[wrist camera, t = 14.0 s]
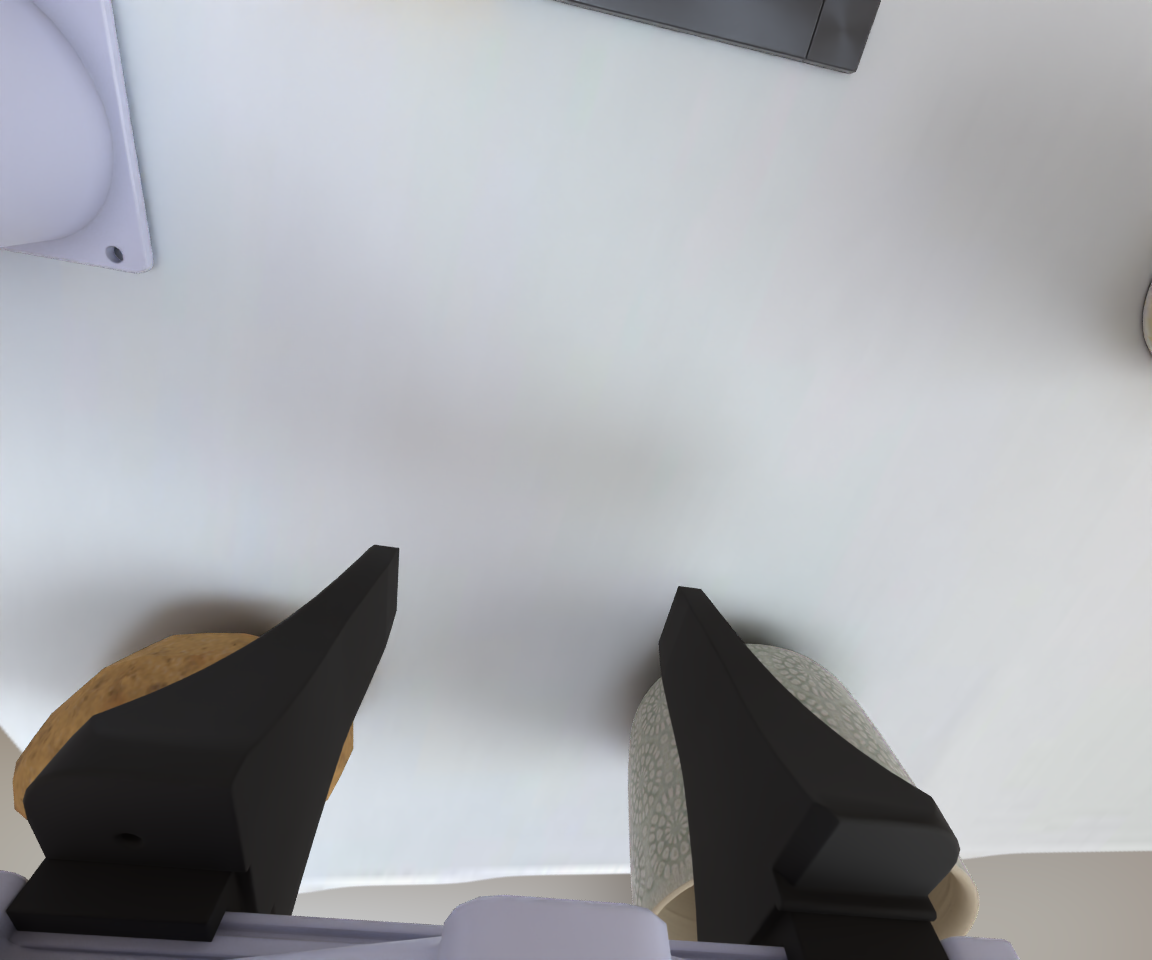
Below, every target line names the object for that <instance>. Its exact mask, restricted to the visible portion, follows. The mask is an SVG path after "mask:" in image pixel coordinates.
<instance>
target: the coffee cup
mask: <svg viewBox="0 0 1152 960" xmlns="http://www.w3.org/2000/svg"><path fill="white" fill-rule="evenodd" d="M1143 332H1144V338H1145V341H1146V343H1147V346H1148V348H1149V350H1150V352H1151V353H1152V283H1151V286H1150V288H1149V291H1148V293H1147V298H1146V301H1145V306H1144V310H1143Z"/></svg>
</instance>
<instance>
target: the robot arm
mask: <svg viewBox="0 0 1152 960" xmlns="http://www.w3.org/2000/svg"><path fill="white" fill-rule="evenodd" d="M114 247H116V248H118V249H119V250H120V251H121V253H122V255H123V261H122V260H120V259H119V258H118V257H117V256H116V255H115V253H114ZM0 249H3V250H8V251H14V252H19V253H25V254H31V255H36V256H42V257H47V258H53V259H58V260H64V261H70V262H75V263H81V264H86V265H92V266H97V267H103V268H109V269H114V270H120V271H125V272H131V273H143V272H146V271H148V270H150V269H151V268H152V266H153V261H154V258H153V252H152V246H151V240H150V234H149V228H148V222H147V216H146V210H145V204H144V198H143V192H142V185H141V179H140V173H139V167H138V161H137V155H136V149H135V143H134V137H133V131H132V125H131V118H130V112H129V106H128V100H127V94H126V88H125V82H124V76H123V70H122V64H121V58H120V52H119V45H118V39H117V33H116V27H115V21H114V15H113V9H112V3H111V0H0ZM398 567H399V548H394V547H387V546H380V545H373V546H372V547H370V548H369V549H368V550H367V551H366V552H365V553H364V554H363V555H362V556H361V557H360V558H359V559H358V560H357V561H355V562H354V563H353V564H352V565H351V566H350V567H349V568H348V569H347V570H346V571H345V572H344V573H342V574H341V575H340V576H339V577H338V578H337V579H336V580H334V581H333V582H332V583H331V584H330V585H329V586H327V587H326V588H325V589H324V590H323V591H322V592H320V593H319V594H318V595H317V596H316V597H314V598H313V599H312V600H311V601H309V602H308V603H307V604H305V605H304V606H303V607H301V608H300V609H299V610H297V611H296V612H295V613H294V614H292V615H291V616H290V617H288V618H287V619H285V620H284V621H283V622H281V623H280V624H278V625H277V626H275V627H274V628H273V629H271V630H270V631H268V632H267V633H265V634H263V635H262V636H260V637H259V638H257V639H256V640H254V641H252V642H251V643H249V644H248V645H246V646H244V647H242V648H241V649H239V650H237V651H235V652H234V653H232V654H230V655H228V656H226V657H225V658H223V659H221V660H219V661H217V662H215V663H214V664H212V665H210V666H208V667H206V668H204V669H202V670H200V671H198V672H196V673H194V674H192V675H190V676H188V677H186V678H183V679H181V680H179V681H177V682H175V683H172V684H170V685H168V686H166V687H164V688H161V689H159V690H157V691H154V692H152V693H150V694H147V695H145V696H142V697H140V698H137V699H134V700H132V701H129V702H127V703H124V704H122V705H119V706H116V707H114V708H111V709H109V710H106V711H104V712H101V713H98V714H95V715H93V716H92V717H91V718H90V719H89V720H88V721H87V722H86V723H85V724H84V725H83V726H82V727H81V728H80V729H79V730H78V731H77V732H76V733H75V734H74V735H73V736H72V737H71V738H70V739H69V740H68V741H67V742H66V743H65V745H64V746H63V747H62V748H61V749H60V750H59V751H58V753H57V754H56V755H55V756H54V757H53V758H52V760H51V761H50V762H49V763H48V764H47V765H46V767H45V768H44V769H43V770H42V771H41V772H40V774H39V775H38V776H37V777H36V778H35V779H34V780H33V782H32V783H31V784H30V785H29V786H28V787H27V789H26V791H25V794H24V798H23V805H24V809H25V813H26V817H27V820H28V822H29V824H30V826H31V828H32V830H33V832H34V834H35V836H36V838H37V840H38V842H39V844H40V846H41V849H42V851H43V853H44V855H45V857H46V858H45V859H44V861H43V862H42V863H41V865H40V866H39V867H38V869H37V870H36V871H35V873H34V874H33V875H32V877H31V878H30V879H29V881H28V880H27V879H26V878H25V877H23V876H21V875H19V874H16V873H13V872H8V871H3V870H0V960H1020V959H1019V957H1018V955H1017V954H1016V952H1015V950H1014V948H1013V947H1012V945H1011V943H1010V942H1009V941H1006V940H1005V939H995V938H979V937H966V936H955V937H949V938H945V939H942V940H941V941H940V940H939V938H938V936H937V934H936V932H935V930H934V928H933V926H932V924H931V922H930V921H932V922H934V921H935V920H936V919H937V913H936V911H935V909H934V907H933V905H932V903H931V901H930V899H929V897H928V895H929V893H930V892H931V891H932V890H933V889H934V888H935V887H936V886H937V885H938V884H939V883H940V882H941V881H942V880H943V879H944V878H945V877H946V875H947V874H948V873H949V872H950V871H951V870H952V868H953V867H954V865H955V864H956V863H957V860H958V856H959V852H960V847H959V844H958V840H957V838H956V837H955V835H954V833H953V832H952V830H951V828H950V827H949V825H948V823H947V822H946V820H945V818H944V816H943V815H942V813H941V811H940V810H939V808H938V806H937V805H936V803H935V801H934V800H933V798H932V797H931V796H929V795H928V794H926V793H924V792H923V791H921V790H920V789H918V788H916V787H915V786H913V785H912V784H910V783H908V782H907V781H905V780H904V779H902V778H900V777H899V776H897V775H895V774H894V773H892V772H891V771H889V770H888V769H886V768H885V767H883V766H882V765H880V764H879V763H877V762H876V761H874V760H873V759H872V758H870V757H869V756H867V755H866V754H865V753H863V752H862V751H860V750H859V749H857V748H856V747H855V746H853V745H852V744H851V743H849V742H848V741H847V740H845V739H844V738H843V737H842V736H840V735H839V734H838V733H837V732H835V731H834V730H833V729H832V728H830V727H829V726H828V725H827V724H825V723H824V722H823V721H822V720H821V719H819V718H818V717H817V716H816V715H815V714H813V713H812V712H811V711H810V710H809V709H808V708H807V707H805V706H804V705H803V704H802V703H801V702H800V701H799V700H798V699H797V698H796V697H795V696H794V695H793V694H792V693H791V692H789V691H788V690H787V689H786V688H785V687H784V686H783V685H782V684H781V683H780V682H779V681H778V680H777V679H776V678H775V677H774V676H773V675H772V673H771V672H770V671H769V670H768V669H767V668H766V667H765V666H764V665H763V664H762V663H761V662H760V661H759V659H758V658H757V657H756V656H755V655H754V654H753V653H752V651H751V650H750V649H749V648H748V647H747V646H746V644H745V643H744V642H743V641H742V640H741V638H740V637H739V636H738V635H737V634H736V632H735V631H734V630H733V629H732V627H731V626H730V625H729V624H728V622H727V621H726V620H725V619H724V617H723V616H722V615H721V614H720V612H719V611H718V610H717V609H716V607H715V606H714V605H713V603H712V602H711V601H710V600H709V598H708V597H707V596H706V595H705V593H704V592H703V591H702V590H701V589H697V588H689V587H682V586H678V589H677V592H676V594H675V597H674V600H673V603H672V606H671V609H670V611H669V614H668V617H667V620H666V623H665V626H664V629H663V631H662V634H661V637H660V640H659V656H660V668H661V677H662V683H663V688H664V692H665V697H666V702H667V706H668V711H669V715H670V720H671V724H672V728H673V733H674V737H675V742H676V746H677V750H678V755H679V759H680V765H681V770H682V776H683V783H684V791H685V799H686V807H687V816H688V825H689V835H690V845H691V855H692V867H693V880H694V893H695V906H696V924H697V942H696V941H681V940H669V939H668V932H667V925H666V923H665V922H664V921H663V920H662V919H660V918H659V917H658V916H657V915H655V914H654V913H653V912H652V911H650V910H649V909H648V908H643V907H639V906H634V905H630V904H625V903H612V902H598V901H583V900H569V899H555V898H541V897H527V896H513V895H498V896H483V897H477V898H475V899H472V900H470V901H467V902H465V903H462V904H460V905H459V906H457V907H456V908H455V909H454V910H453V911H452V913H451V914H450V915H449V917H448V918H447V919H446V921H445V922H444V925H429V924H414V923H398V922H383V921H367V920H352V919H351V920H350V919H335V918H320V917H304V916H291V915H292V912H293V908H294V905H295V901H296V898H297V894H298V891H299V887H300V884H301V880H302V877H303V873H304V870H305V867H306V863H307V860H308V857H309V853H310V850H311V847H312V843H313V840H314V837H315V833H316V830H317V827H318V823H319V820H320V817H321V814H322V811H323V807H324V804H325V801H326V798H327V795H328V791H329V788H330V785H331V782H332V779H333V776H334V773H335V770H336V767H337V764H338V761H339V758H340V755H341V751H342V748H343V745H344V743H345V740H346V738H347V735H348V733H349V730H350V727H351V725H352V723H353V720H354V718H355V716H356V714H357V711H358V709H359V707H360V705H361V702H362V700H363V698H364V695H365V693H366V691H367V689H368V686H369V684H370V682H371V680H372V677H373V675H374V673H375V670H376V668H377V666H378V664H379V661H380V659H381V657H382V654H383V652H384V650H385V647H386V644H387V641H388V638H389V634H390V631H391V628H392V624H393V621H394V617H395V614H396V611H397V589H398Z"/></svg>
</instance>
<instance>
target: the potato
mask: <svg viewBox="0 0 1152 960" xmlns="http://www.w3.org/2000/svg"><path fill="white" fill-rule="evenodd" d="M257 638H259V636H255V635H250V634H246V633H196V634H182V635H172V636H169V637H167V638H165V639H163V640H161V641H159V642H157V643H154V644H152V645H150V646H148V647H146V648H144V649H141V650H139V651H137V652H135V653H133V654H131V655H129V656H127V657H125V658H123V659H121V660H119V661H117V662H115V663H113V664H111V665H109V666H107V667H105V668H104V669H102V670H101V671H100V672H99V673H98V674H97V675H96V676H94V677H93V678H92V679H91V680H90V681H89V682H87V683H86V684H85V685H84V686H83V687H82V688H80V689H79V690H78V691H77V692H76V693H75V694H74V695H72V696H71V697H70V698H69V699H68V700H67V701H66V702H64V703H63V704H62V705H61V706H60V707H59V708H58V709H56V710H55V711H54V712H53V713H52V714H51V715H50V716H49V718H48V719H47V720H46V722H45V723H44V724H43V726H42V727H41V728H40V730H39V731H38V732H37V734H36V735H35V736H34V738H33V739H32V740H31V742H30V743H29V745H28V746H27V748H26V749H25V750H24V752H23V753H22V755H21V756H20V757H19V759H18V760H17V762H16V767H15V772H14V777H13V791H14V807H15V810H16V811H17V812H19V813H20V814H21V815H22V816H23V817H24V818H25V819H27V817H26V813H25V809H24V805H23V798H24V794H25V791H26V789H27V787H28V786H29V785H30V784H31V783H32V782H33V780H34V779H35V778H36V777H37V776H38V775H39V774H40V772H41V771H42V770H43V769H44V768H45V767H46V765H47V764H48V763H49V762H50V761H51V760H52V758H53V757H54V756H55V755H56V754H57V753H58V751H59V750H60V749H61V748H62V747H63V746H64V745H65V743H66V742H67V741H68V740H69V739H70V738H71V737H72V736H73V735H74V734H75V733H76V732H77V731H78V730H79V729H80V728H81V727H82V726H83V725H84V724H85V723H86V722H87V721H88V720H89V719H90V718H91V717H92V716H93V715H95V714H98V713H101V712H104V711H106V710H109V709H111V708H114V707H116V706H119V705H122V704H124V703H127V702H129V701H132V700H134V699H137V698H140V697H142V696H145V695H147V694H150V693H152V692H154V691H157V690H159V689H161V688H164V687H166V686H168V685H170V684H172V683H175V682H177V681H179V680H181V679H183V678H186V677H188V676H190V675H192V674H194V673H196V672H198V671H200V670H202V669H204V668H206V667H208V666H210V665H212V664H214V663H215V662H217V661H219V660H221V659H223V658H225V657H226V656H228V655H230V654H232V653H234V652H235V651H237V650H239V649H241V648H242V647H244V646H246V645H248V644H249V643H251V642H252V641H254V640H256V639H257ZM352 750H353V723H352V725H351V727H350V730H349V733H348V735H347V738H346V740H345V743H344V745H343V748H342V751H341V755H340V758H339V761H338V764H337V767H336V770H335V773H334V776H333V779H332V782H331V785H330V788H329V791H328V795H327V798H326V800H328V798H329V796H330V794H331V793H332V791H333V789H334V787H335V785H336V783H337V782H338V780H339V778H340V776H341V774H342V772H343V770H344V767H345V765H346V763H347V761H348V759H349V757H350V755H351V752H352Z"/></svg>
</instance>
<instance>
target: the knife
mask: <svg viewBox="0 0 1152 960" xmlns="http://www.w3.org/2000/svg"><path fill="white" fill-rule="evenodd" d="M555 1H559V2H563V3H567V4H571V5H575V6H579V7H583V8H587V9H591V10H595V11H599V12H603V13H607V14H611V15H615V16H619V17H623V18H627V19H631V20H635V21H639V22H644V23H648V24H652V25H656V26H660V27H664V28H668V29H672V30H676V31H680V32H684V33H688V34H692V35H696V36H700V37H704V38H708V39H712V40H716V41H720V42H724V43H728V44H732V45H736V46H740V47H744V48H748V49H752V50H756V51H760V52H765V53H769V54H773V55H777V56H781V57H785V58H789V59H793V60H797V61H802V62H805V63H809V64H813V65H817V66H821V67H825V68H829V69H833V70H837V71H841V72H845V73H849V74H850V73H853V72H856V70H857V68H858V65H859V62H860V59H861V56H862V53H863V50H864V48H865V45H866V42H867V39H868V36H869V33H870V30H871V27H872V25H873V22H874V19H875V16H876V13H877V10H878V7H879V5H880V2H881V0H555Z"/></svg>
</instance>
